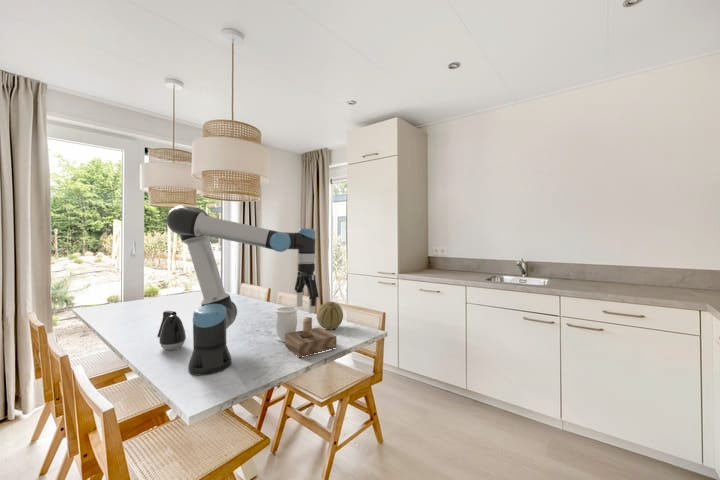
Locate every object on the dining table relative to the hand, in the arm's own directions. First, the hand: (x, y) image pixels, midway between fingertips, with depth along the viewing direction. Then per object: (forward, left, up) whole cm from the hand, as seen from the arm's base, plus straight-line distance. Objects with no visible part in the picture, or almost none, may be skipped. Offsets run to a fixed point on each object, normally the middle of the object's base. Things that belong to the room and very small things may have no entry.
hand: (305, 309), depth 139 cm
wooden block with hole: (+2, 0, -18) cm, 18 cm away
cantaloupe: (+23, +20, -18) cm, 36 cm away
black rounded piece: (-50, +57, -18) cm, 78 cm away
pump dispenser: (-50, +34, -18) cm, 63 cm away
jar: (-3, +17, -18) cm, 25 cm away
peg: (0, -1, -16) cm, 16 cm away
